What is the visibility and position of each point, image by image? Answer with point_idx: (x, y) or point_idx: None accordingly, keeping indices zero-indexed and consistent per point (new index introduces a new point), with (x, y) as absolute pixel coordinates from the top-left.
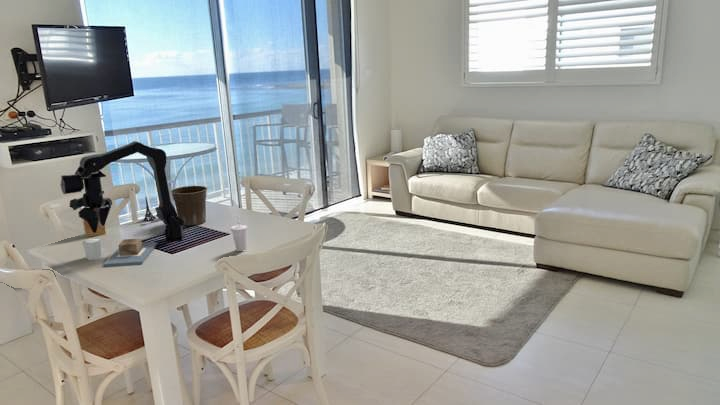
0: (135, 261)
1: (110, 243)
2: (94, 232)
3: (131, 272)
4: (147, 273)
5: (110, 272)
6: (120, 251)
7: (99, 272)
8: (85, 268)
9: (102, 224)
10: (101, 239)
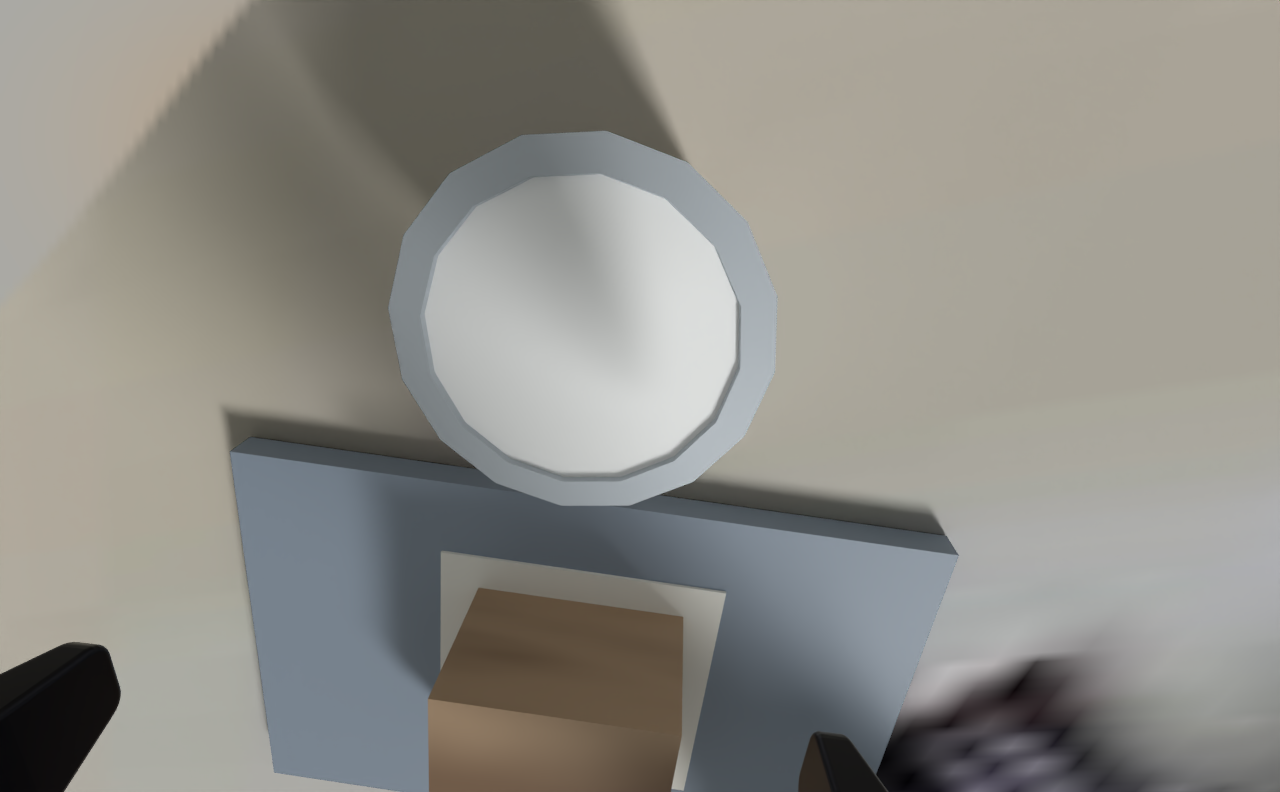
0: (281, 727)
1: (1210, 358)
2: (80, 667)
3: None
4: (73, 789)
5: (85, 528)
6: (459, 636)
7: (82, 424)
8: (208, 231)
9: (810, 782)
10: (621, 498)
